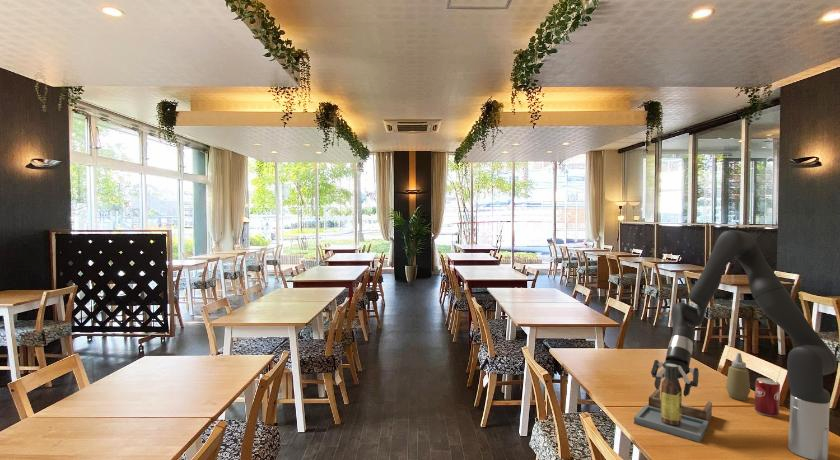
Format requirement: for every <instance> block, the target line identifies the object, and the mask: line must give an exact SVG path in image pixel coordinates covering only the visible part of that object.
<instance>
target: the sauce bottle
mask: <svg viewBox="0 0 840 460" xmlns="http://www.w3.org/2000/svg"><path fill="white" fill-rule="evenodd" d="M665 369H666V374H665V378H663V379H662V381H661V389H660V399H661V420H662V421H663V422H664V423H666V424H669V425H675V426H677V425H680V423H681V406H682V405H683V404H682V396H683V395H682V394H683V393H682V392H683V391H682V386H681V384H680V379H679V378H678V365H675V364H669V363H668V364H665Z"/></svg>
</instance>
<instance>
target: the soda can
mask: <svg viewBox="0 0 840 460" xmlns="http://www.w3.org/2000/svg"><path fill="white" fill-rule="evenodd" d="M754 384H755V385H754V387H755V389H754V390H755V391H754V410H755V412H756V413H758V414H759V415H763V416H767V417H777V416H779V415H780V397H781V384H780V382H779V381H777V380H774V379H771V378H765V377H757V378H756V379H755V383H754Z"/></svg>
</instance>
